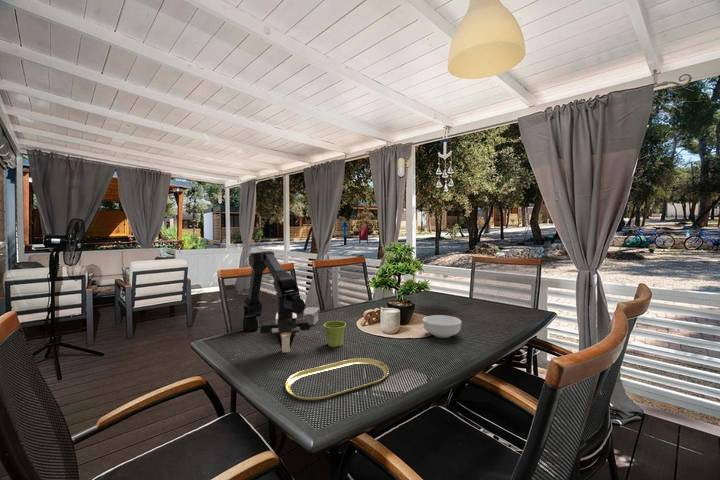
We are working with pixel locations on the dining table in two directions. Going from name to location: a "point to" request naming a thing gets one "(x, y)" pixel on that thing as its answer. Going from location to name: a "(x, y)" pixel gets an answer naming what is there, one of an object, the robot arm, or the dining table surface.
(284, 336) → the cream and brown mallet
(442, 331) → the cereal bowl
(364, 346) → the dining table surface
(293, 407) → the dining table surface
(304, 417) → the dining table surface
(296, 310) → the robot arm
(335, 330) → the plant pot
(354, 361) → the serving platter
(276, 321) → the white open box
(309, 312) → the decorative stone
